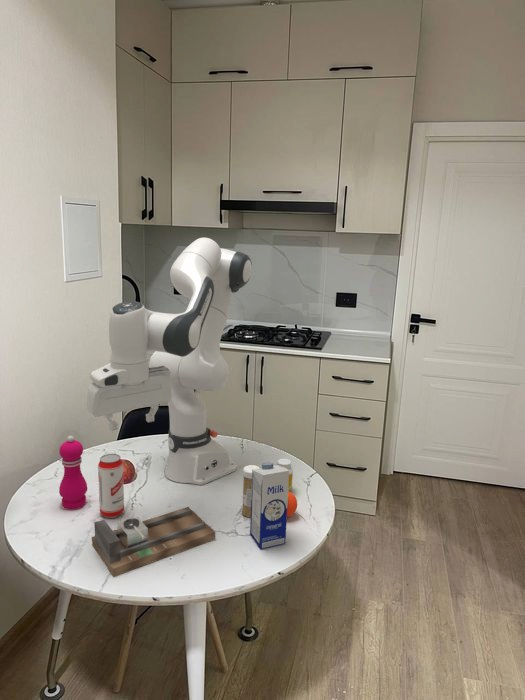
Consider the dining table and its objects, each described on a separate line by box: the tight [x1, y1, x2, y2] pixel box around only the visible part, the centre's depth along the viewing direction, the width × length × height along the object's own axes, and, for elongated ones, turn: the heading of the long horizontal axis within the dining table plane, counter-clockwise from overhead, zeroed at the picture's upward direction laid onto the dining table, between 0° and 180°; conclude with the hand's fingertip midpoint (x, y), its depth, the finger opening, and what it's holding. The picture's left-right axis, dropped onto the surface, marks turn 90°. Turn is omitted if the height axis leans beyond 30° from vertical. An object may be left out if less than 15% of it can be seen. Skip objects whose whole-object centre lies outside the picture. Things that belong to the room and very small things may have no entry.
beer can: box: [97, 453, 125, 519], centre depth 139 cm, size 6×6×16 cm
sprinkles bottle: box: [241, 464, 260, 518], centre depth 141 cm, size 5×5×14 cm
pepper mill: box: [58, 435, 88, 510], centre depth 142 cm, size 7×7×20 cm
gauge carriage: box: [117, 516, 148, 548], centre depth 123 cm, size 5×9×4 cm, turn 36°
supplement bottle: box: [276, 458, 294, 493], centre depth 154 cm, size 5×5×10 cm
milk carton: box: [249, 462, 290, 550], centre depth 129 cm, size 7×7×20 cm
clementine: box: [287, 491, 298, 518], centre depth 141 cm, size 8×7×7 cm
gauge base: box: [91, 506, 216, 578], centre depth 128 cm, size 26×14×7 cm, turn 126°
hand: (132, 425), depth 129 cm, fingers open, 8 cm apart
